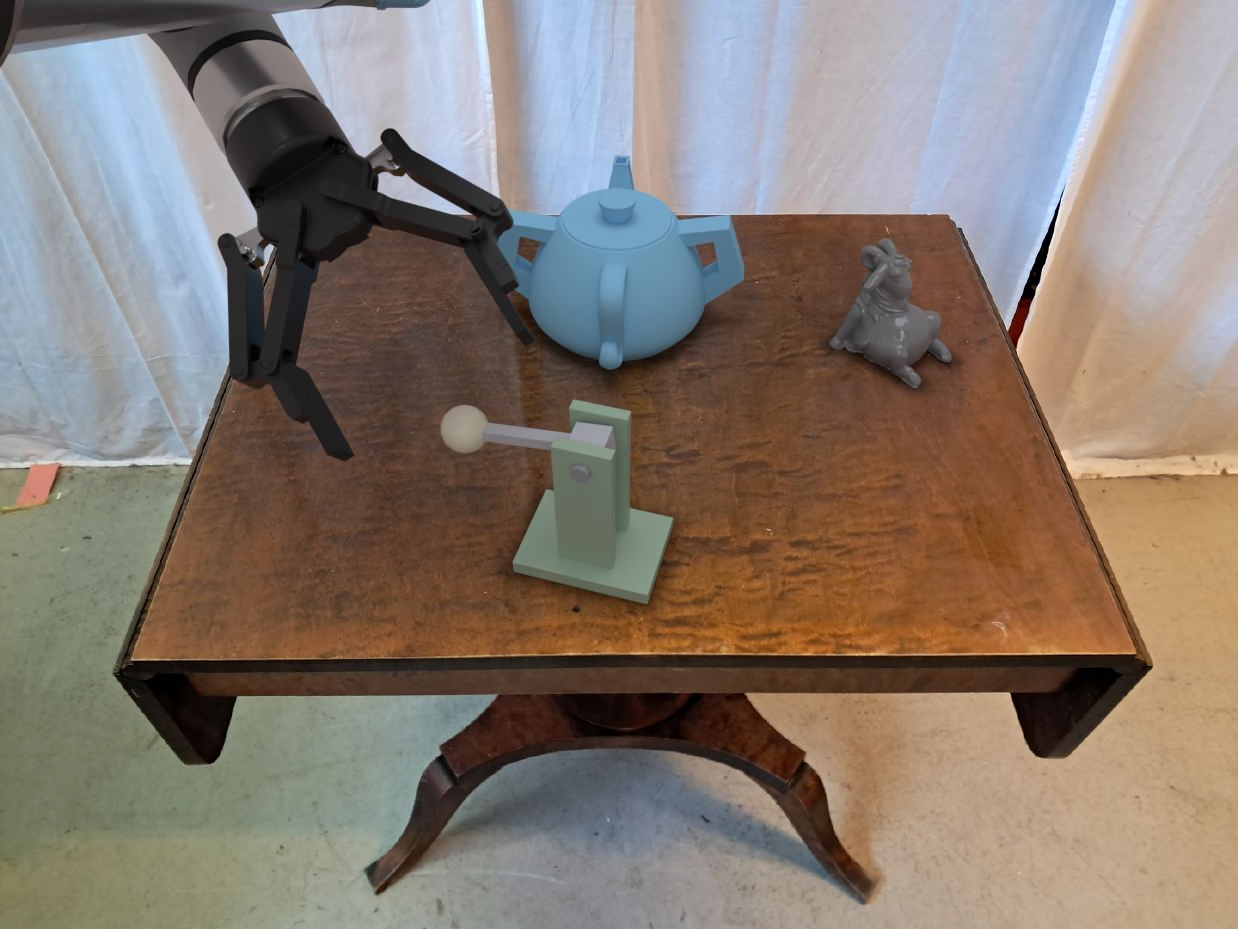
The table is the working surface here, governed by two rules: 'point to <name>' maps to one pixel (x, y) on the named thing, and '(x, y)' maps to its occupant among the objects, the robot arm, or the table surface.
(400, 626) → the table surface
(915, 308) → the figurine
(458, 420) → the knob lever
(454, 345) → the table surface
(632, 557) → the green lever stand
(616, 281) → the teapot
